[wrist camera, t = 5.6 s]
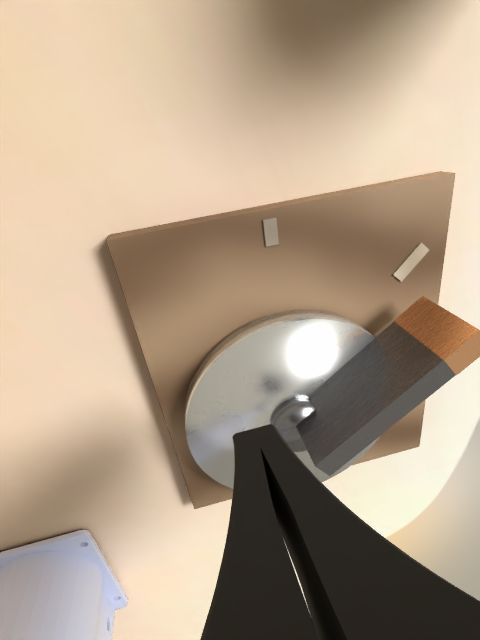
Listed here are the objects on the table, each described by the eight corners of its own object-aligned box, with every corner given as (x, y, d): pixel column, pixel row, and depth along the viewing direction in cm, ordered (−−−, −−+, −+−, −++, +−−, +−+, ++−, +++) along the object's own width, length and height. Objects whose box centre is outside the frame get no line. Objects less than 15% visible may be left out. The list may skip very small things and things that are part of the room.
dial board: (410, 436, 26) (420, 447, 25) (193, 495, 24) (194, 510, 23) (440, 171, 17) (456, 173, 17) (109, 235, 16) (105, 241, 15)
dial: (280, 501, 25) (305, 577, 20) (137, 423, 19) (131, 503, 15) (460, 354, 22) (533, 407, 17) (350, 213, 16) (417, 240, 12)
